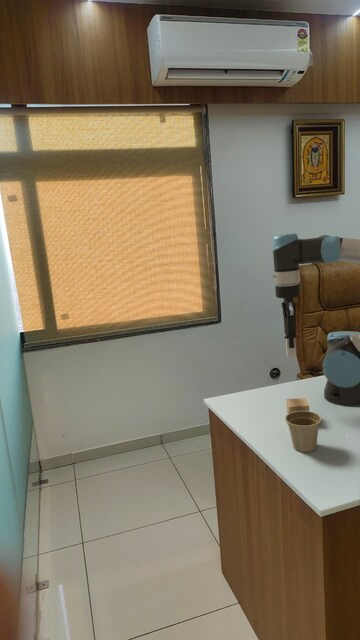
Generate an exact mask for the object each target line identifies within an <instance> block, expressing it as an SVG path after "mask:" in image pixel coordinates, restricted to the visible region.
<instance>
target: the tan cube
mask: <svg viewBox="0 0 360 640" xmlns="http://www.w3.org/2000/svg"><path fill="white" fill-rule="evenodd" d="M285 401H286V415H287V414H289V413H291V412H295V411H310V405H309V402H308V400H307V398H306V397H302V398H301V397H300V398H286V400H285Z"/></svg>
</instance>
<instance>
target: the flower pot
mask: <svg viewBox="0 0 360 640" xmlns="http://www.w3.org/2000/svg"><path fill="white" fill-rule="evenodd" d="M284 421H285V422H286V423H287V424H286V425H287V426H288V430H289V432H290V433H289V434H290V437H291V443H292V446H293V449H295V451H299V452H301V453H310V452H314V450H316V449H317V446H318V436H319V435H318V434H319V427H320V426H321V425H320V423H321V422H322V417H321V415H319V414H318V413H316V412H314V411H311V410H309V411H295V412H291V413H289V414H287V413H286V415H285V417H284Z"/></svg>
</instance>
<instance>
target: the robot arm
mask: <svg viewBox="0 0 360 640" xmlns="http://www.w3.org/2000/svg"><path fill="white" fill-rule="evenodd" d="M272 256H273V269H274V274H273V275H272V278H273V279H274V284H276V285H275V286H274V287H275V297H276V298H277V299H283V301H282V302H281V308H282V315H283V316H282V317H283V324H284V325H283V326H284V327H283V328H284V330H283V331H284V333H285V334H284V335H285V336H284V339H285V349H286V357H287V358H288V359H290V358H297V345H296V343H297V342H296V337H297V319H296V313H297V303H296V302H295V301H294V298H298V297H300V296H301V285H300V284H299V283H300V282H301V278H300V277H301V274H300V265H305V264H306V265H307V264H310V265H311V264H323V263H325V264H330V263H334V262H345V263H351V264H352V263H353V264H359V265H360V239H359V238H351V237H350V238H349V237H339V236H337V235H336V236H335V235H334V236H333V235H327V234H324V235H320V236H318V237H312V238H299V237H298V234H297V233H296V232H294V233H284V234H276V235H275V236H273V238H272ZM326 338H327V339H326V342H327V351H326V353H325V357H324V358H323V360H322V371H323V375H324V376H325V378H326V383H325V386H324V389H323V393H324V394H323V396H324V399H325V400H326V401H328V402H329V403H333V404H336V405H340V406H360V332H359V331H349V330H348V331H341V330H340V331H332V332H329V333H328V334H327V336H326Z"/></svg>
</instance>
